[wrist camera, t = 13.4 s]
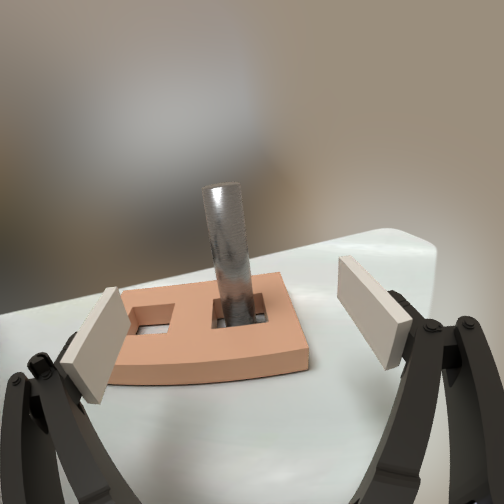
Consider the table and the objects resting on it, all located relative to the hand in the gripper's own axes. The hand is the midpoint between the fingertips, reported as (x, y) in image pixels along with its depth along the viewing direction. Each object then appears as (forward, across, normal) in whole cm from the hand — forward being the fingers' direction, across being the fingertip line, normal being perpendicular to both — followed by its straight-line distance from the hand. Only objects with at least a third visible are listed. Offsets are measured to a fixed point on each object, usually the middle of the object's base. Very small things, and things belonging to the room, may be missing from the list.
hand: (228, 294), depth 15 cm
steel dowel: (+8, 0, -9) cm, 12 cm away
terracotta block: (+8, -4, -9) cm, 13 cm away
